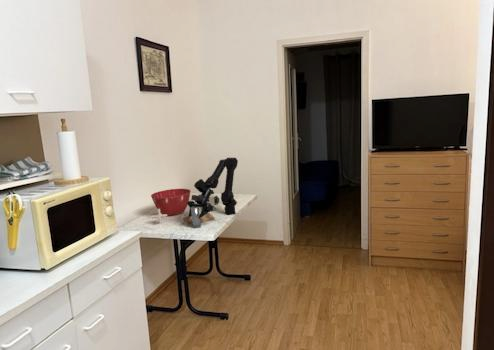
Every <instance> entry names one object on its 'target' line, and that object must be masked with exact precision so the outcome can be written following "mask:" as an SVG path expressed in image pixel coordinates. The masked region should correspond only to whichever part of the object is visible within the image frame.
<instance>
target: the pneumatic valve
mask: <svg viewBox="0 0 494 350" xmlns="http://www.w3.org/2000/svg"><path fill="white" fill-rule="evenodd" d="M208 200H209V202H207V203H210V204H211V205H212V206H213V211H212V212H214V211H216V206H217V205H218V204H220V200H221V199H220V197H218V195H215V194H211V195H210V197H209V199H208Z"/></svg>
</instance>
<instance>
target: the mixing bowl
mask: <svg viewBox="0 0 494 350" xmlns="http://www.w3.org/2000/svg"><path fill="white" fill-rule="evenodd" d="M150 197H151V199H152V201H153V204H154V205H155V207H156V209H160V213H161V214H162V215H163V214H167V217H171V216H178V215H180V214H183V213H184V211H186V209H187V207H188V205H187V203H188V201H190V197H191V189H189V188H173V189H172V188H171V189H164V190H160V191H157V192H154V193H152V194H151V195H150Z"/></svg>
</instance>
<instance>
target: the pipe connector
mask: <svg viewBox="0 0 494 350" xmlns="http://www.w3.org/2000/svg"><path fill="white" fill-rule="evenodd" d="M156 209H157V208H156ZM166 217H168V216H167V214H162V213H160V209H157V214H156V215H151V219H157V221H158V224H159V225H162V218H166Z"/></svg>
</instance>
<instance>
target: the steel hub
mask: <svg viewBox="0 0 494 350" xmlns="http://www.w3.org/2000/svg"><path fill="white" fill-rule="evenodd" d="M191 215H192V224H191V225H192V228H193V229H199V228H201V226H202V223H200V219H199V215H200V207H199V206H192V207H191Z"/></svg>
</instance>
